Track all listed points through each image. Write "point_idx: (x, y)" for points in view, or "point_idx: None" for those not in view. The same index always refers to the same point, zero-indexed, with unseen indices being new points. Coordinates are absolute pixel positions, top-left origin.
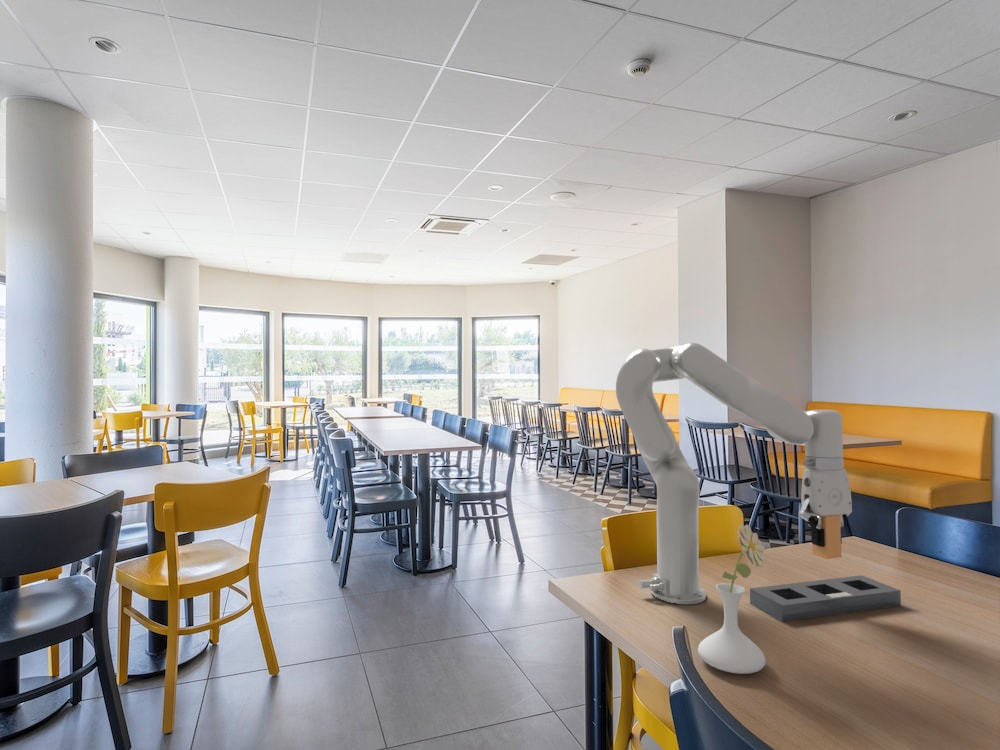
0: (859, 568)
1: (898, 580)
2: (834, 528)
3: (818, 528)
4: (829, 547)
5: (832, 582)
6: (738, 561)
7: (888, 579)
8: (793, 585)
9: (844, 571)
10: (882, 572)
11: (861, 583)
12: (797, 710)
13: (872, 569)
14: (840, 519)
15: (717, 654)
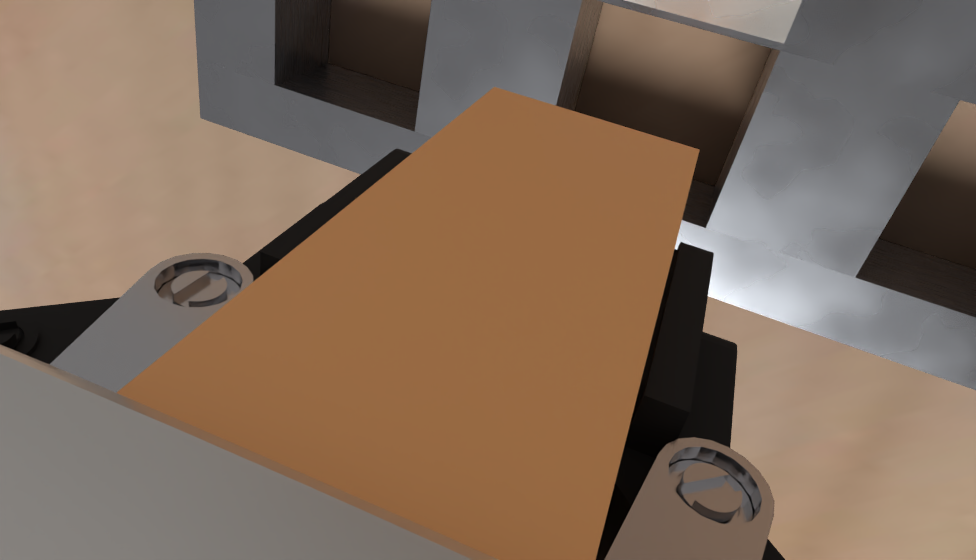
0: (63, 241)
1: (2, 59)
2: (443, 289)
3: (749, 471)
4: (636, 188)
5: None
6: None
7: (36, 94)
8: (763, 282)
9: (149, 264)
10: (4, 157)
11: (284, 63)
12: None
13: (20, 201)
14: (151, 344)
15: None
